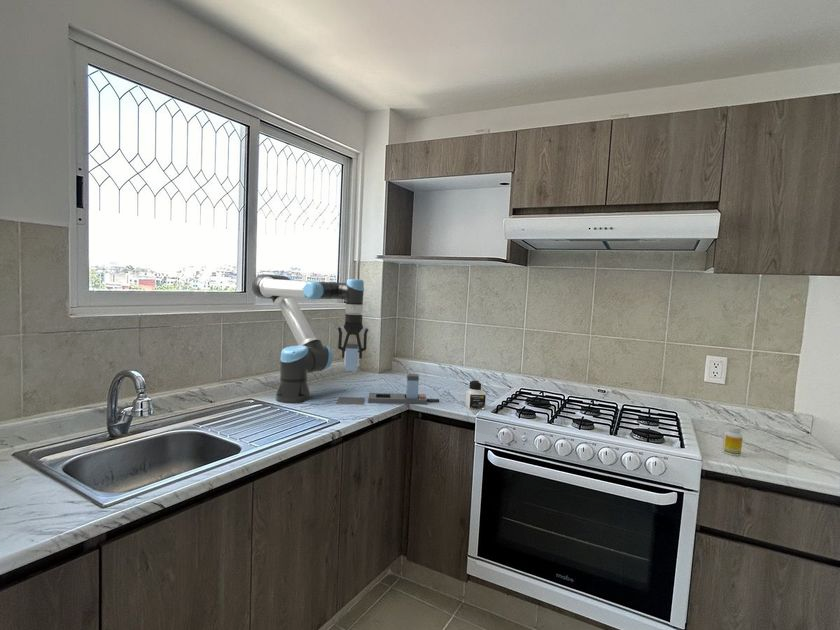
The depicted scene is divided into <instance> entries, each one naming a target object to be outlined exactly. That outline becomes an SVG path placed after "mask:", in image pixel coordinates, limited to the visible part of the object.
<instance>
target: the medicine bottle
mask: <svg viewBox="0 0 840 630" xmlns="http://www.w3.org/2000/svg"><path fill="white" fill-rule="evenodd" d="M465 393H466V394H465V406H466V407H467V409H469V410H470V409H482V408H484V407H485V408H486V398H487V397H486V393H485V392H484V382H482V381H481V380H471V381H470V382H469V388H468V390H466V391H465Z"/></svg>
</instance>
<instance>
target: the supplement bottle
mask: <svg viewBox="0 0 840 630" xmlns="http://www.w3.org/2000/svg"><path fill="white" fill-rule="evenodd" d="M741 432H742V427H740V426H737V425H731V424H729V425H727V426H726V431H724V432H723V441H722V452H723V453H724V454H726V455H729V456H733V457H734V456H735V457H739V456H741V455H742V454H741V453H742V447H743V446H742V445H743V438H744V437H743V434H742V433H741Z"/></svg>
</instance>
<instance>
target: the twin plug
mask: <svg viewBox="0 0 840 630" xmlns="http://www.w3.org/2000/svg"><path fill="white" fill-rule="evenodd" d="M419 379H420V377H419V374H418V373H407V374H406V391H405V394H406V398H409V399H418V394H419Z"/></svg>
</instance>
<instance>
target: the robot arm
mask: <svg viewBox="0 0 840 630" xmlns="http://www.w3.org/2000/svg"><path fill="white" fill-rule="evenodd" d="M254 278H255V279H254ZM254 278H253V280H252V281H253V282H252V281H251V284H252V289H251V291H253V292H252V293H253V295H255V296H256V297H258V298H259V299H266V300H267V299H270V300H271V301H272V303H273V304H274V306H275V307H279V309H280V311H281V313H282V315H283V318H284V319H285V321H286V322H287V325H288V328H290V332H291V333H292V334H293V336H294V340H295V341H296V343H297V345H291V346H287V347H285V348H283V349H282V350H281V352H280V375H279V379H280V380H279V383H278V386H277V389H276V392H275V400H276V401H277V402H280V403H288V404H292V403H293V404H294V403H295V404H296V403H304V402H305V401H309V400H310V399H311V391H310V388H309V384H308V374H311V373H316V372H323V371H324V370H328V369H329V367H331V365H332V362H333V359H334V356H333V355H334V354H333V351H332V349H331V348H330V347H329V346H327V345H324V344H323V342H322V340H321V339H319V338H316V336H315V334H314V333H313V330H312V328H311V327H310V325H309V322H308V320H307V319H306V317H305V315H304V313H303V311H302V309H301V308H300V306H299V304H298V302H297V300H296V299H297V298H299V299H300V298H301V299H308V300H345V318H344V324H343V326H338V328H337V331H338V345H337V348H338V350H340V351H341V358H342V359H343V365H344V367H345V364H346V344H347V342H349V338H350V336H351V335H354V336H355V337H356V341H357V342H356V343H358V355H357V367H359V366H360V359H362V358H363V352H364V351H366V350H367V345H368V344H367V342H368V341H367V339H368V336H367V335H368V333H369V328H368V327H364V326H363V315H362V314H363V312H364V311H363V310H364V295H365V294H364V291H365V287H364V284H365V283H364V280H363V279H355V278H347V280H346V282H337V281H316V280H315V281H314V280H294V279H293V278H292V277H291V276H288V275H284V274H280V275H278V274H276V275H274V274H260V275H257V276H255V277H254ZM344 330H345V332H346V333H347V334H346V336H345V339H344V343H343V332H344ZM361 331H362V332H363V345H362V341H361V338H360V333H361ZM342 343H343V346H342Z"/></svg>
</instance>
